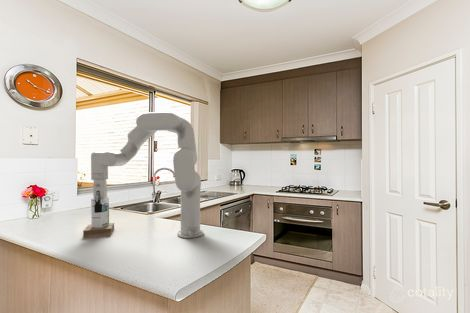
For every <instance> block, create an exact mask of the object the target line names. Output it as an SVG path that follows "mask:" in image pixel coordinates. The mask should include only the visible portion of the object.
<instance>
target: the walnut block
mask: <svg viewBox="0 0 470 313" xmlns="http://www.w3.org/2000/svg"><path fill="white" fill-rule="evenodd" d="M114 230H115V222H109V225H107V226H105V227H102V228H93V227H92V224H87V226H86V227H85V228H84V229H83V231H82V232H83V233H82V237H83V238H82V239H88V238H89V239H90V238H100V237H101V238H102V237H110V236H112V235H113V232H114Z"/></svg>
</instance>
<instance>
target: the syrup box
mask: <svg viewBox="0 0 470 313" xmlns="http://www.w3.org/2000/svg"><path fill="white" fill-rule="evenodd" d="M90 201H91V204H90V206H91V212H90V213H91V214H90V215H91V225H92V227H93V228H102V227H105V226H107V225H109V223H110V213H109V212H110V211H109V210H110V205H109V202H110V200H109V196H107V197H106V198H105V199H104V200H103V199H102V201H101V204H102V212H100V213H95V212H94V204H95V200H94V198H91V199H90Z"/></svg>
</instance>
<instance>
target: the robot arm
mask: <svg viewBox="0 0 470 313" xmlns="http://www.w3.org/2000/svg"><path fill="white" fill-rule="evenodd" d="M135 124H136V125H135V127H133V129H132V130H130V131H129V132H128V133H127V134H126V135H127V139H128V140H127V142H126V144H125V145H124V146H123V147H122V148H121V149H120V150H119V151H116V150H115V151H112V150H110V151H94V152H91V154H90V176H91V177H90V180H91V181H93V194H92V195H93V199H94V200H95V204H94V212H95V213H100V212H102V204H101V201H102V199H103V200H104V199H105V198H106V197H108V186H107V180H109V167H122V166H125V165H126V164H128V163H129V162H130V161H131V160H132V159H133V158H134V157H135V156H136V155H137V153H138V152H139V150H140V149H141V147H142V146H143V145H144V144H145V143H146V142H147V141H148V140H149V138H151V137H152V136H153V135H154V134H155V133H156V132H158V131H167V132H171V133H174V134H176V135H177V148H178V149H177V150H176V151H175V152H174V154H173V160H172V162H173V164H172V165H173V172H174V181H175V185H176V188H177V189H178V190H180V230H179V231H177V233H176V235H177V236H178V238H183V239H194V238H195V239H196V238H199V237H202V236H203V235H204V231H203V230H202V229H201V188H202V187H201V186H202V179H201V175H200V174H199V173H198V172H197V171H196V170H195V165H196V164H197V161H198V153H197V145H196V138H195V131H194V128H193V126H192V124H191V123H190V122H189V121H188V120H186V119H185V118H182V117H181V116H179V115H177V114H175V113H173V112H166V111H164V112H163V111H161V112H142V113H140V114H139V115H138V116H137V117H136V120H135Z"/></svg>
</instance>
